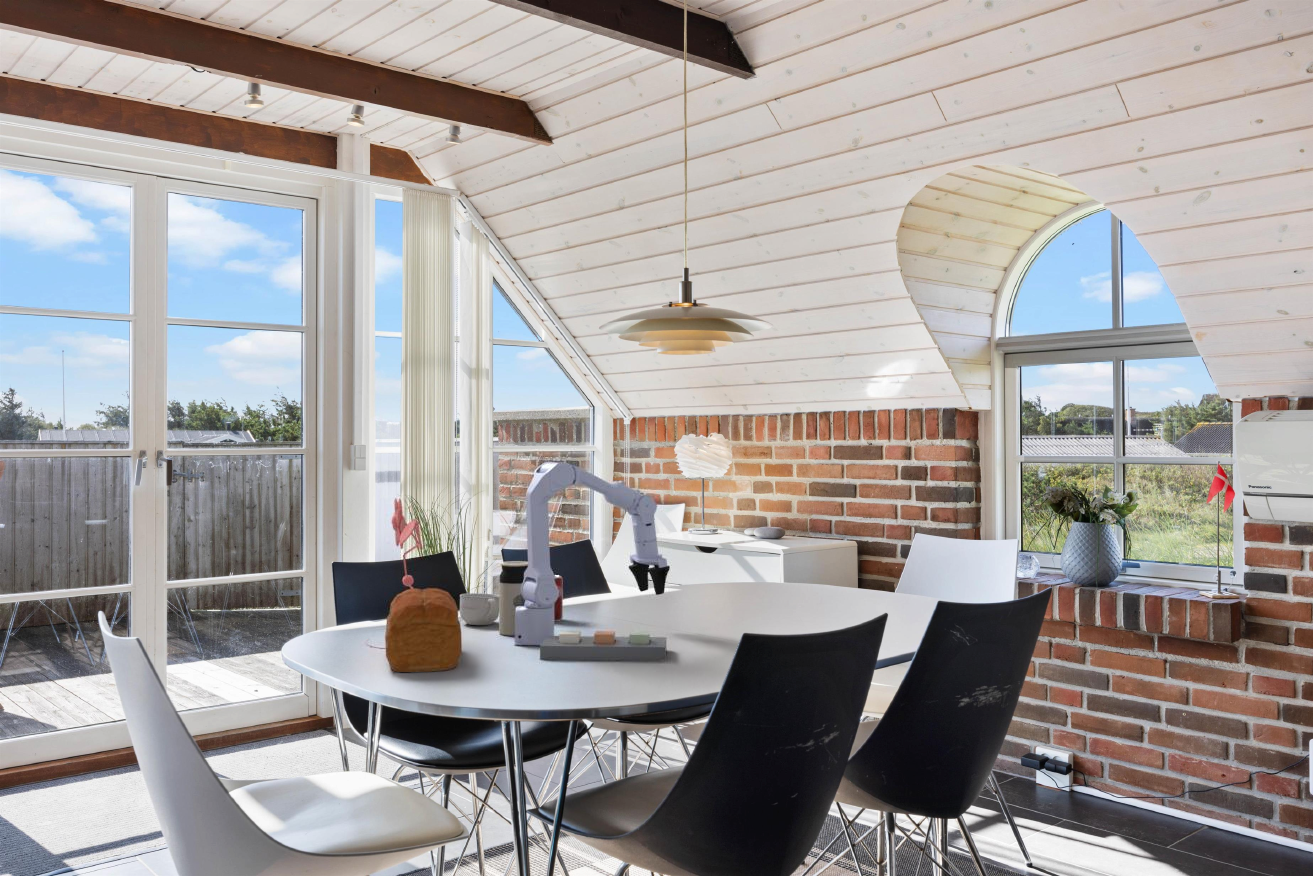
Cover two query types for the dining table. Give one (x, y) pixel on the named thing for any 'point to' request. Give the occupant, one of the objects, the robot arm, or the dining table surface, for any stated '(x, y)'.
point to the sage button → (640, 637)
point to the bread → (423, 631)
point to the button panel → (603, 649)
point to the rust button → (604, 637)
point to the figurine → (404, 538)
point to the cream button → (570, 637)
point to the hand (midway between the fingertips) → (651, 592)
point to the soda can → (558, 599)
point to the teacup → (479, 608)
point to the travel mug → (510, 594)
